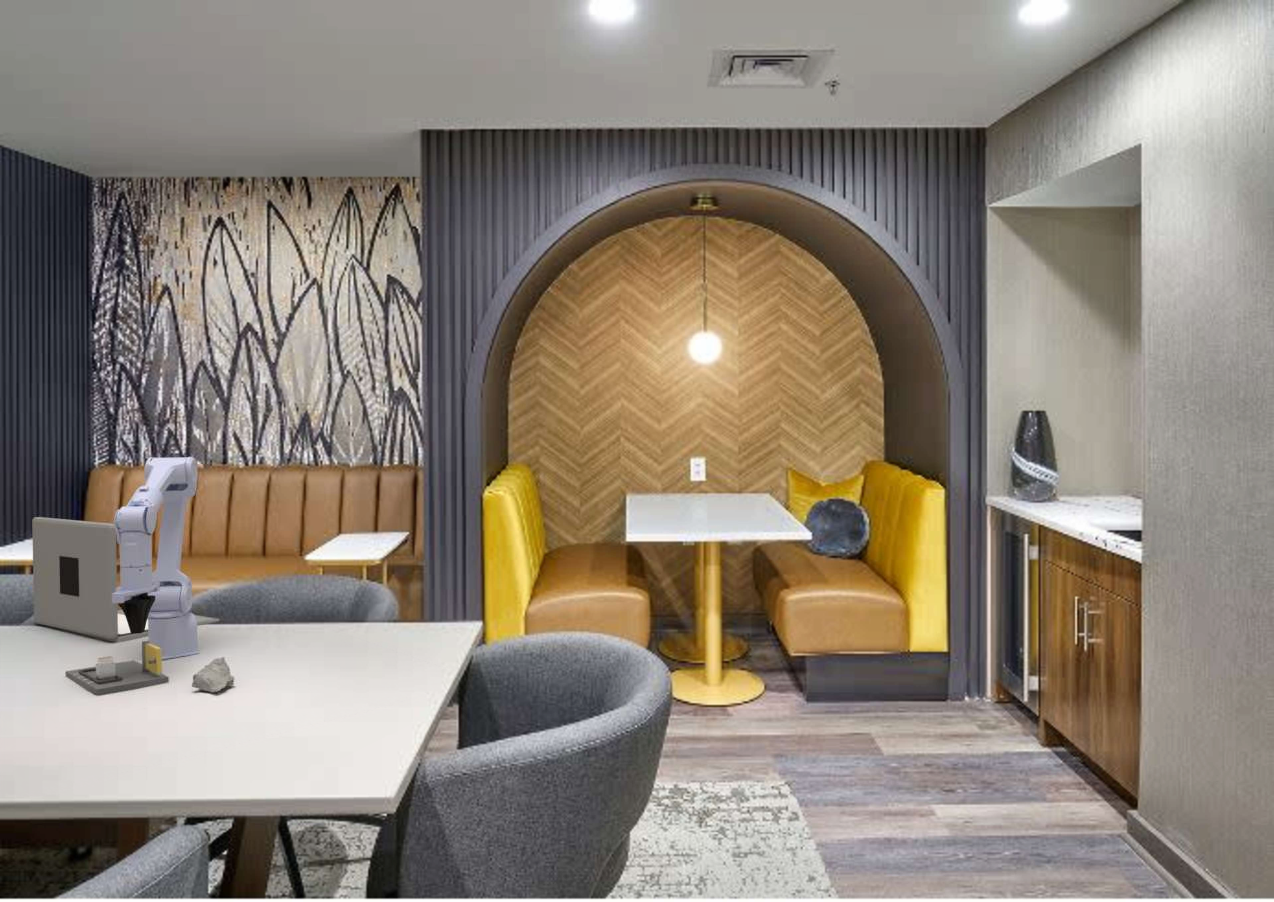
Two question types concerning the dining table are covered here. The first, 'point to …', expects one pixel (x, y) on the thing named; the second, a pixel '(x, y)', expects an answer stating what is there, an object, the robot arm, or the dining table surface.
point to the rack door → (153, 658)
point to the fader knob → (105, 669)
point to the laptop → (79, 579)
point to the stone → (213, 676)
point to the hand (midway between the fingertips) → (137, 632)
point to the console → (118, 677)
